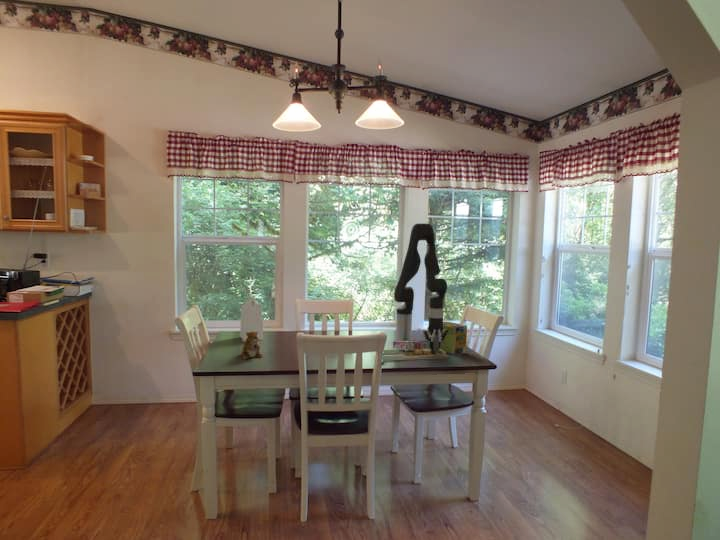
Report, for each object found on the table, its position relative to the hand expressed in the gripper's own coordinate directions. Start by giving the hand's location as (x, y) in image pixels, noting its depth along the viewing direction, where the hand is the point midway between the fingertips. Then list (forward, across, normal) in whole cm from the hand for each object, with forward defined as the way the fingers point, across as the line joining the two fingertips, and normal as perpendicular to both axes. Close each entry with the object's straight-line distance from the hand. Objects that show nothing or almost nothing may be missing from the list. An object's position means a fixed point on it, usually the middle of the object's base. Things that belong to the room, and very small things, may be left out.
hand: (434, 348), depth 236 cm
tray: (+5, +25, 0) cm, 26 cm away
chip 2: (+4, +5, 0) cm, 6 cm away
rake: (+3, 0, 0) cm, 3 cm away
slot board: (+5, +7, 0) cm, 8 cm away
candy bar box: (+1, +2, -14) cm, 14 cm away
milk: (+5, +95, -54) cm, 110 cm away
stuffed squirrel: (+5, +95, -17) cm, 97 cm away
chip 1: (+4, +10, 0) cm, 10 cm away
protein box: (+5, -12, -8) cm, 16 cm away
